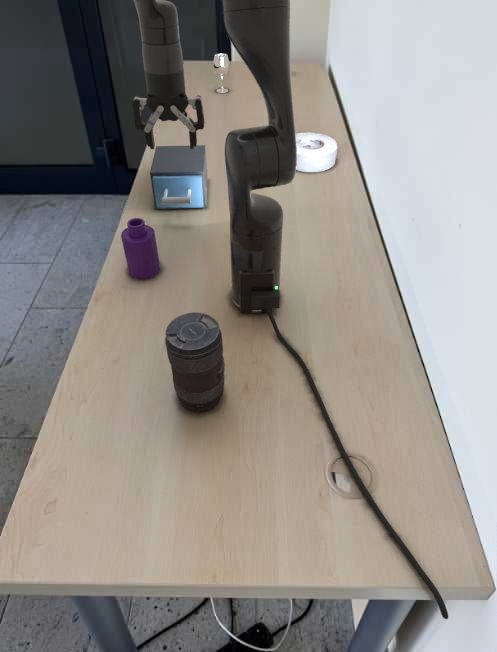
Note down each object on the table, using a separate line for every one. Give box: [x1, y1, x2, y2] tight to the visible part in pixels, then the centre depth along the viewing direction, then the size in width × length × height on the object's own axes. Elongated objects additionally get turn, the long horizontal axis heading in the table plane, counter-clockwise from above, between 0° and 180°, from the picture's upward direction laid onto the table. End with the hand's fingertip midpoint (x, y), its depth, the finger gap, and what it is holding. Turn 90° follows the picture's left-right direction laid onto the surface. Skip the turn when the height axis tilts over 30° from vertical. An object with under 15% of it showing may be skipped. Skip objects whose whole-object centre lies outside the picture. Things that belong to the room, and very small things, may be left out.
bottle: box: [120, 217, 161, 280], centre depth 98 cm, size 6×6×12 cm
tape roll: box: [295, 131, 338, 173], centre depth 138 cm, size 15×15×5 cm
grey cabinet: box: [149, 144, 209, 210], centre depth 122 cm, size 15×13×10 cm
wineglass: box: [212, 52, 230, 94], centre depth 177 cm, size 6×6×12 cm
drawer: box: [152, 175, 203, 209], centre depth 119 cm, size 20×11×8 cm, turn 2°
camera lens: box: [164, 312, 226, 414], centre depth 73 cm, size 8×8×15 cm
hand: (172, 147), depth 105 cm, fingers open, 8 cm apart
